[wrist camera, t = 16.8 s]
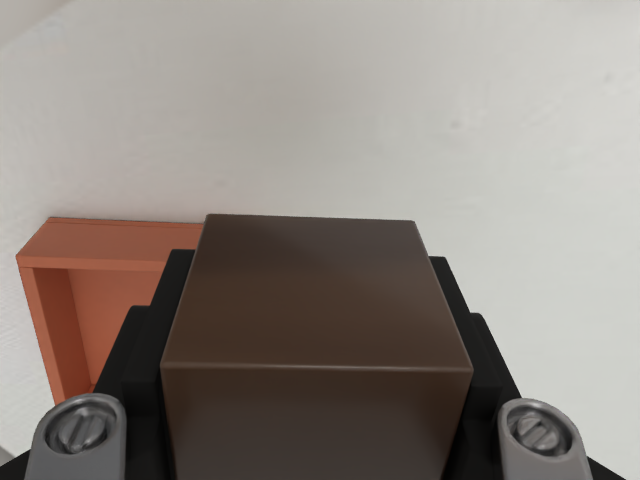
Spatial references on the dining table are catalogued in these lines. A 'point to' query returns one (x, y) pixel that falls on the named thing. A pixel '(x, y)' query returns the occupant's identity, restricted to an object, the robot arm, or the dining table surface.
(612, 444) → the dining table surface
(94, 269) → the terracotta bin
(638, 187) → the dining table surface
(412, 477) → the walnut block
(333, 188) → the dining table surface
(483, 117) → the dining table surface
